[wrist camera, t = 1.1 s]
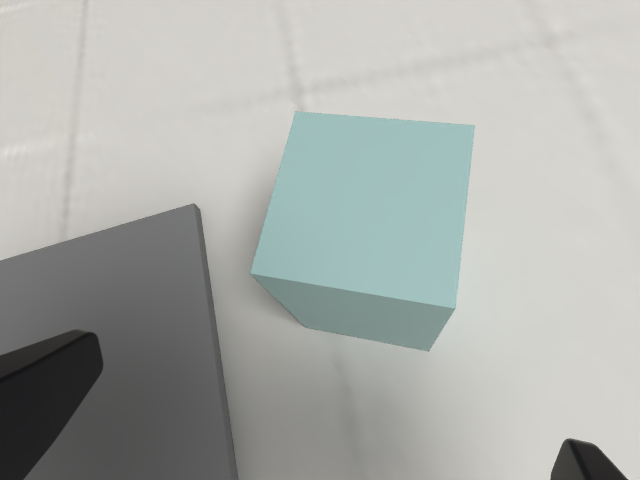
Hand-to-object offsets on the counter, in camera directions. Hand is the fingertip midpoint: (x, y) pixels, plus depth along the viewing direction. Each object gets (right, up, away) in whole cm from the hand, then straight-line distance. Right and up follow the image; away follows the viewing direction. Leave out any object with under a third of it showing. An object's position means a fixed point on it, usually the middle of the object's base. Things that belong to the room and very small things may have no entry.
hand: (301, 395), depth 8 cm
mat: (-11, -4, +14) cm, 18 cm away
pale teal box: (+3, +1, +13) cm, 14 cm away
